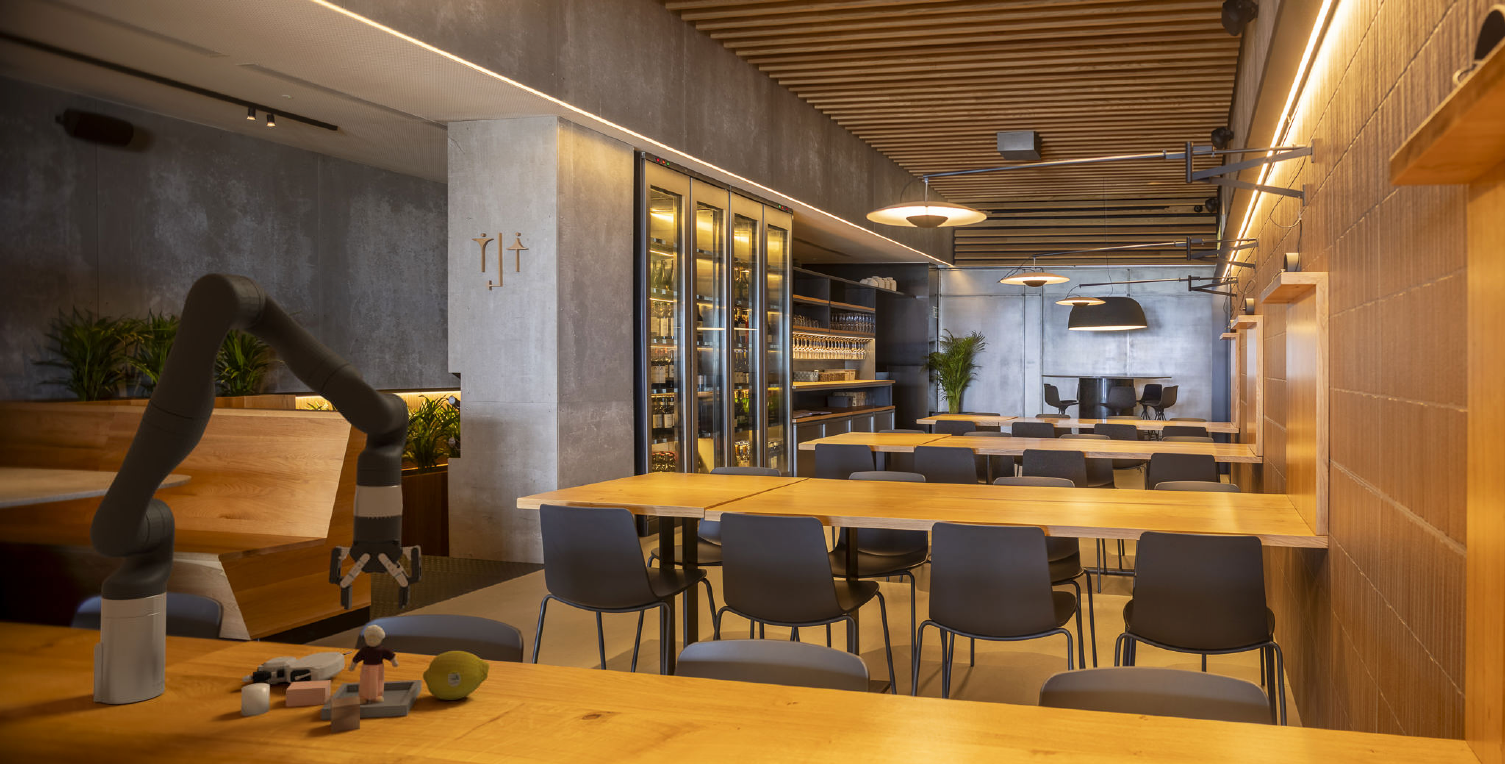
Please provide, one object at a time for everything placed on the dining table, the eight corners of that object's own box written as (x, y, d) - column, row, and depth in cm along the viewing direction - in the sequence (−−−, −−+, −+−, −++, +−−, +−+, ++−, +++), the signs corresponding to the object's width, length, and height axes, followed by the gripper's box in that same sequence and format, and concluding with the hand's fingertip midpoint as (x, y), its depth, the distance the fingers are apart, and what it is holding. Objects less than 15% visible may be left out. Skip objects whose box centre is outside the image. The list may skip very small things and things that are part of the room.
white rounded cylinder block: (237, 716, 146) (237, 691, 146) (246, 708, 150) (246, 684, 150) (264, 715, 147) (264, 690, 147) (272, 707, 151) (273, 682, 151)
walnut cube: (331, 733, 140) (331, 707, 140) (330, 724, 143) (331, 699, 143) (359, 729, 142) (360, 703, 142) (358, 721, 145) (359, 695, 145)
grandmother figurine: (349, 708, 149) (350, 630, 149) (347, 700, 153) (348, 624, 153) (399, 701, 153) (400, 625, 153) (396, 694, 156) (397, 620, 156)
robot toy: (237, 697, 158) (321, 693, 157) (236, 671, 158) (320, 667, 157) (278, 675, 170) (356, 671, 170) (276, 651, 170) (354, 647, 170)
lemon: (415, 706, 152) (416, 658, 152) (431, 691, 160) (432, 645, 160) (480, 706, 152) (481, 658, 152) (493, 691, 160) (494, 645, 160)
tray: (320, 720, 145) (321, 709, 145) (342, 693, 158) (342, 683, 158) (406, 715, 147) (407, 705, 147) (421, 689, 160) (421, 680, 160)
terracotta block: (285, 708, 151) (286, 689, 151) (292, 699, 155) (292, 682, 155) (325, 705, 152) (325, 687, 152) (330, 697, 156) (330, 680, 156)
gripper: (326, 514, 148) (323, 615, 148) (418, 515, 151) (415, 613, 151) (338, 508, 155) (335, 604, 155) (426, 509, 158) (423, 602, 158)
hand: (375, 608), depth 153 cm, fingers open, 8 cm apart
